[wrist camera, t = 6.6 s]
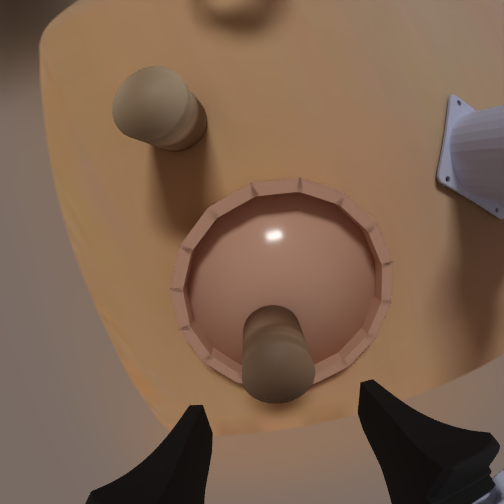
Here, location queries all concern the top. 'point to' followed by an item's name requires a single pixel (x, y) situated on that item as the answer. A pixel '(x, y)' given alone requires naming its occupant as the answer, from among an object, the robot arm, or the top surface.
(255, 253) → the dish
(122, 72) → the top surface
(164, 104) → the beige tall rounded piece
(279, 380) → the brown short cylinder
